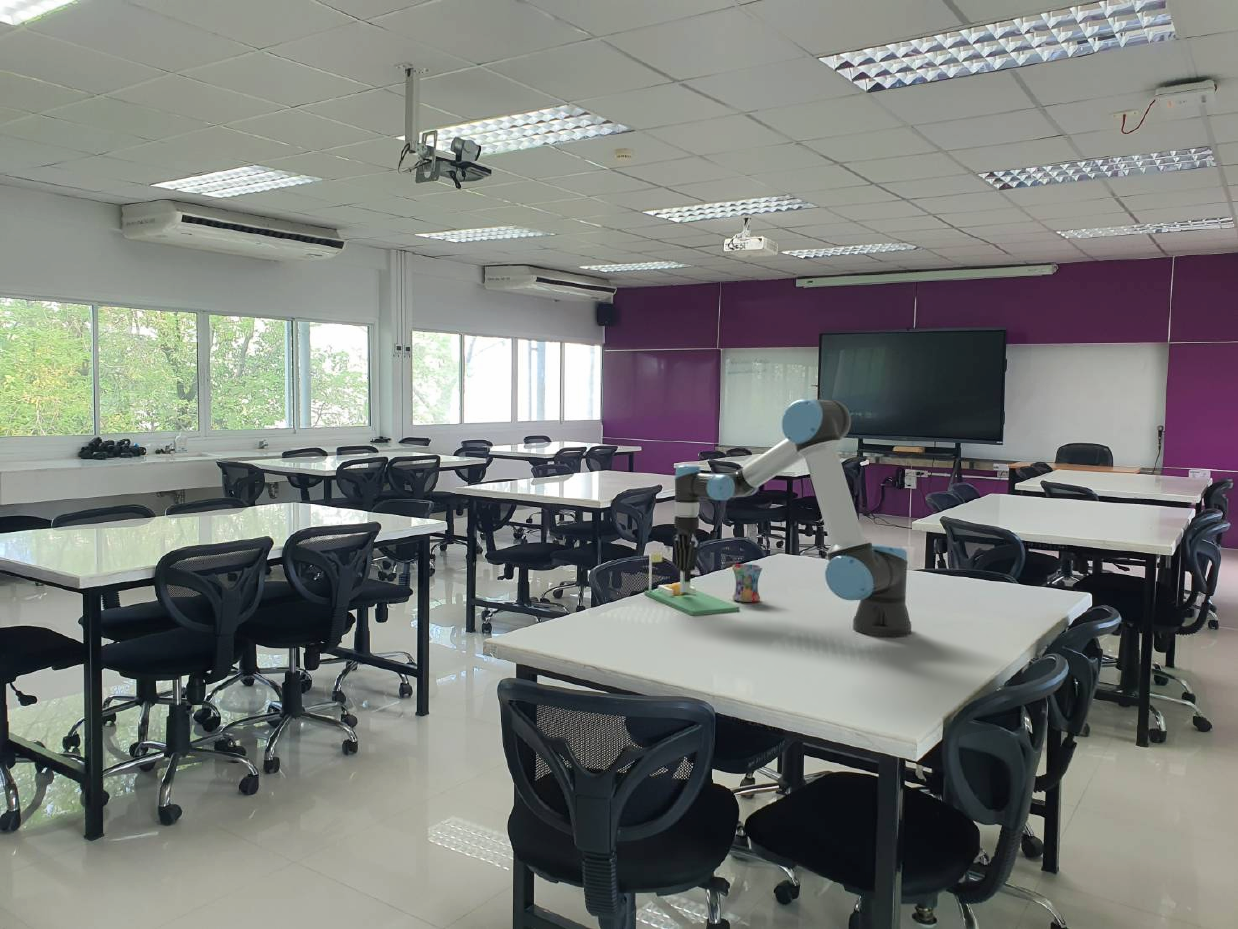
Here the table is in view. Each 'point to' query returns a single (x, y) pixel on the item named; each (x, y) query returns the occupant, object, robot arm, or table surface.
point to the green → (687, 597)
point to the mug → (746, 582)
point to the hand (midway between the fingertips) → (685, 591)
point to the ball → (675, 589)
